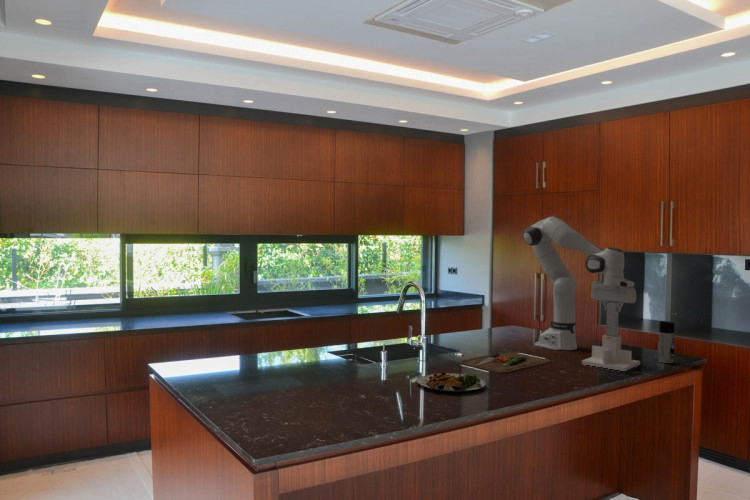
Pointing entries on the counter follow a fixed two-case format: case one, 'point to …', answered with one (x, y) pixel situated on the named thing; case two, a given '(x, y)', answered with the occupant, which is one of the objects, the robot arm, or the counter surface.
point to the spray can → (666, 342)
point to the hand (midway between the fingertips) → (612, 310)
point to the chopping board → (503, 362)
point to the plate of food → (452, 382)
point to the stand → (611, 355)
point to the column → (612, 319)
